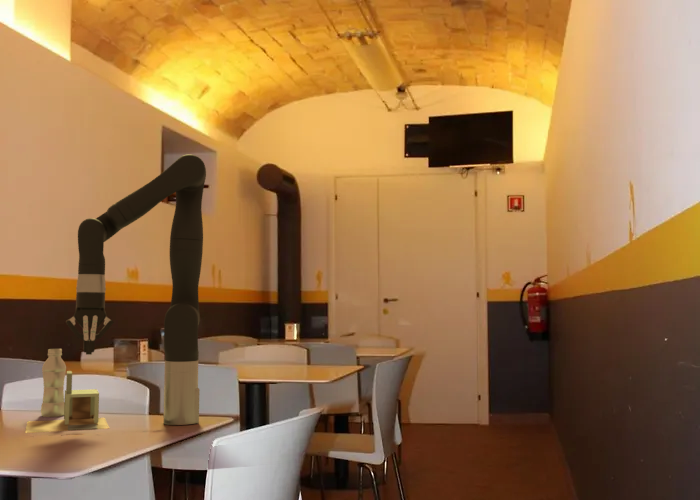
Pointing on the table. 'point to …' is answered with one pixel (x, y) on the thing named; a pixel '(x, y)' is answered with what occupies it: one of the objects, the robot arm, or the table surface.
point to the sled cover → (79, 393)
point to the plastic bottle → (53, 384)
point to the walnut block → (81, 407)
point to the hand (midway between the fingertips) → (88, 354)
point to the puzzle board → (60, 425)
